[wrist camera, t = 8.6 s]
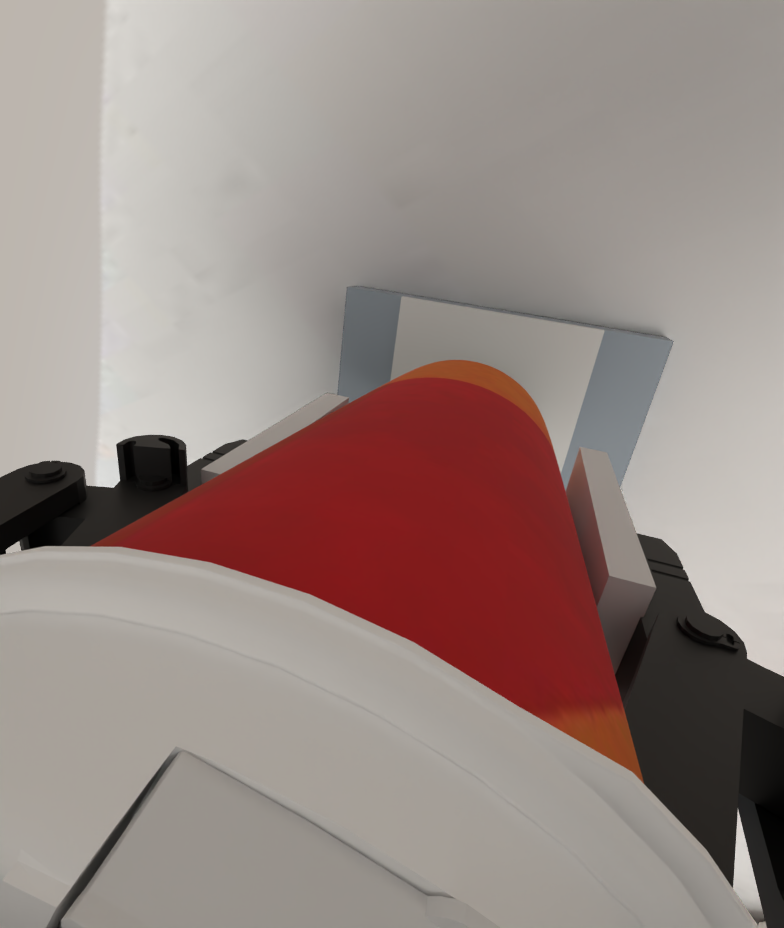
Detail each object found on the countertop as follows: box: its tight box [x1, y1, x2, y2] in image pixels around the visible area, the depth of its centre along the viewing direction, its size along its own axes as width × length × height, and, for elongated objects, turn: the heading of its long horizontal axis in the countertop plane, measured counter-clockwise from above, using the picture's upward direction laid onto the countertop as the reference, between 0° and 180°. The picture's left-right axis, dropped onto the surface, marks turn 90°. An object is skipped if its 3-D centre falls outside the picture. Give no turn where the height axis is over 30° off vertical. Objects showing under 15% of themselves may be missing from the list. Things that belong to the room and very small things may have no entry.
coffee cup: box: [0, 360, 759, 928], centre depth 10 cm, size 8×8×15 cm
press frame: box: [338, 286, 674, 491], centre depth 16 cm, size 23×13×20 cm, turn 172°
